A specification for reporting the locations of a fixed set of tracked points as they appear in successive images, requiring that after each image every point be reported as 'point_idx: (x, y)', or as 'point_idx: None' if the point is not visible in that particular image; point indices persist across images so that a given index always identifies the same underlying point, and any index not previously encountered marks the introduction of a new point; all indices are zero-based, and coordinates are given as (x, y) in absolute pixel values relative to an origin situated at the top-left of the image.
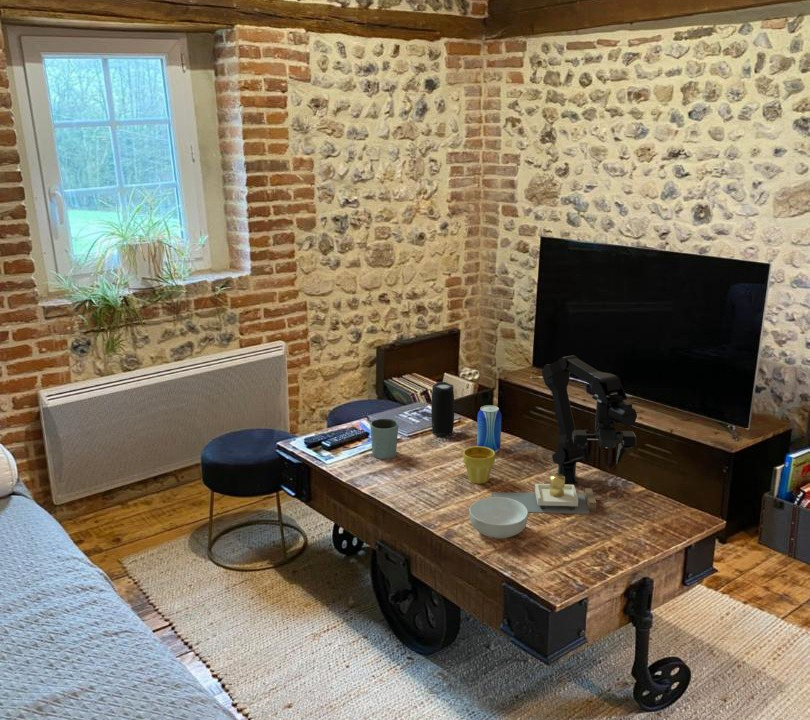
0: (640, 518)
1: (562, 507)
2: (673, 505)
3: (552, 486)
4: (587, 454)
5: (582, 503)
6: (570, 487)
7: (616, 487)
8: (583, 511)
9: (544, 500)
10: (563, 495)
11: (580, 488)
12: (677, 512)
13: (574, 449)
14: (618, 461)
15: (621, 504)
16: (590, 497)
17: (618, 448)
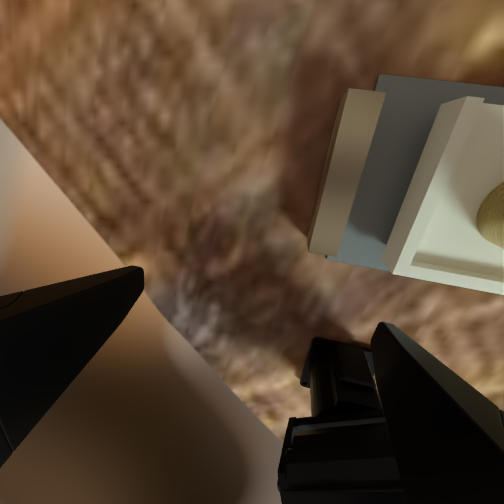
0: (161, 14)
1: None
2: (34, 140)
3: None
4: (458, 401)
5: (366, 184)
6: (411, 262)
7: (196, 290)
8: (401, 99)
9: None
10: (498, 187)
11: (317, 303)
12: (20, 76)
13: (376, 501)
14: (116, 273)
15: (210, 165)
16: (352, 159)
17: (26, 412)
